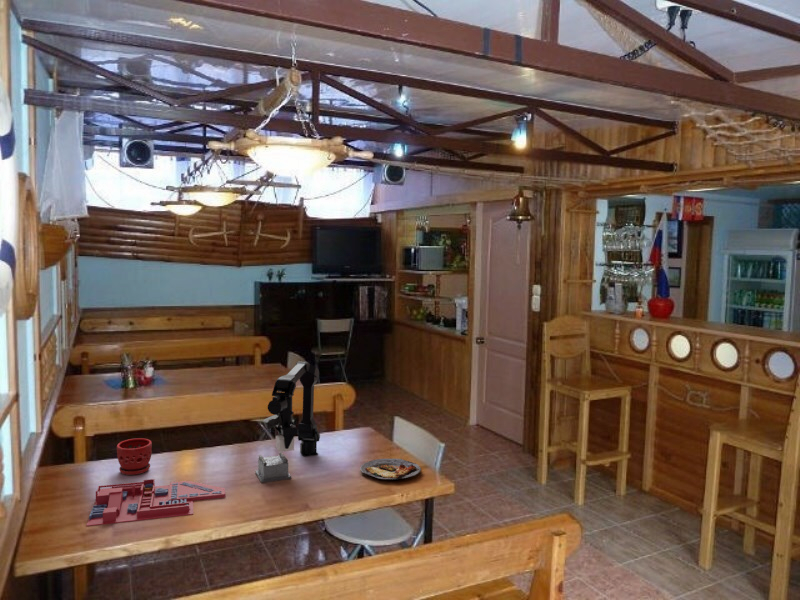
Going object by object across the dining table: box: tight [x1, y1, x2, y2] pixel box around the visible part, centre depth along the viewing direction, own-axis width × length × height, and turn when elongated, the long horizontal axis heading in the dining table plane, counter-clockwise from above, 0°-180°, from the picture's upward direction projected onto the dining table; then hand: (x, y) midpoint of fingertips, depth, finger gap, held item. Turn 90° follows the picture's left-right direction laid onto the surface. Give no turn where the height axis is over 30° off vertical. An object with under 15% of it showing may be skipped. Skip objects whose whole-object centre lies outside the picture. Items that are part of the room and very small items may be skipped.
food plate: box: [359, 458, 422, 481], centre depth 255 cm, size 25×23×4 cm
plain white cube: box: [275, 434, 295, 453], centre depth 250 cm, size 6×6×5 cm
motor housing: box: [254, 452, 292, 484], centre depth 250 cm, size 12×14×8 cm
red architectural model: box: [85, 478, 226, 527], centre depth 222 cm, size 30×45×6 cm
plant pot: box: [116, 437, 153, 476], centre depth 250 cm, size 13×13×12 cm
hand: (284, 446), depth 250 cm, fingers closed on plain white cube, 6 cm apart
